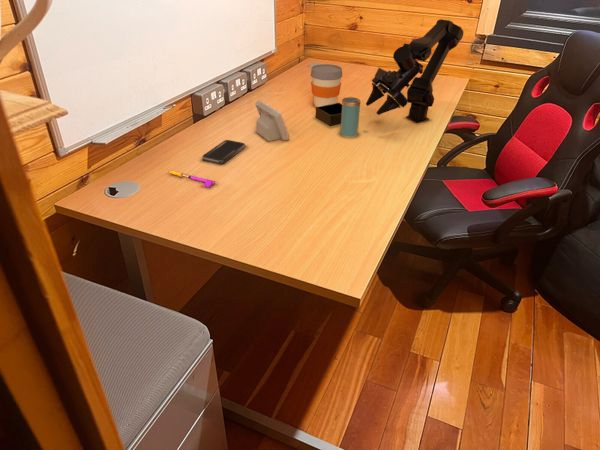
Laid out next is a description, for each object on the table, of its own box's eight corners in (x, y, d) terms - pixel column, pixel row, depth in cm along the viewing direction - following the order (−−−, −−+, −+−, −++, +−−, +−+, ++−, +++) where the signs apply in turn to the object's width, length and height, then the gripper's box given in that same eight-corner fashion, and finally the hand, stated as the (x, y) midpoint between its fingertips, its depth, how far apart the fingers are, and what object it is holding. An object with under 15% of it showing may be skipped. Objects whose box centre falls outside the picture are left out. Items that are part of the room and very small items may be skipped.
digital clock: (290, 141, 161) (290, 112, 155) (265, 145, 158) (264, 115, 152) (276, 125, 174) (276, 96, 168) (253, 127, 171) (251, 99, 165)
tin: (350, 129, 171) (353, 96, 164) (361, 135, 166) (364, 101, 159) (336, 132, 168) (338, 98, 161) (346, 139, 164) (349, 104, 157)
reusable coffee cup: (305, 108, 189) (306, 70, 180) (316, 98, 198) (317, 62, 190) (334, 112, 185) (336, 74, 177) (344, 102, 195) (346, 66, 186)
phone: (200, 156, 148) (226, 139, 159) (201, 159, 148) (226, 142, 160) (222, 161, 145) (246, 143, 156) (222, 164, 146) (246, 146, 157)
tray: (338, 113, 184) (339, 102, 182) (353, 122, 177) (354, 110, 174) (315, 118, 179) (315, 107, 177) (330, 127, 172) (330, 115, 170)
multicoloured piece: (215, 183, 136) (171, 172, 141) (215, 180, 135) (170, 169, 140) (211, 189, 134) (166, 177, 140) (210, 186, 133) (165, 174, 139)
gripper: (379, 52, 164) (348, 86, 168) (404, 67, 149) (369, 104, 153) (397, 73, 170) (366, 105, 174) (422, 89, 156) (388, 124, 159)
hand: (371, 109), depth 165 cm, fingers open, 9 cm apart
